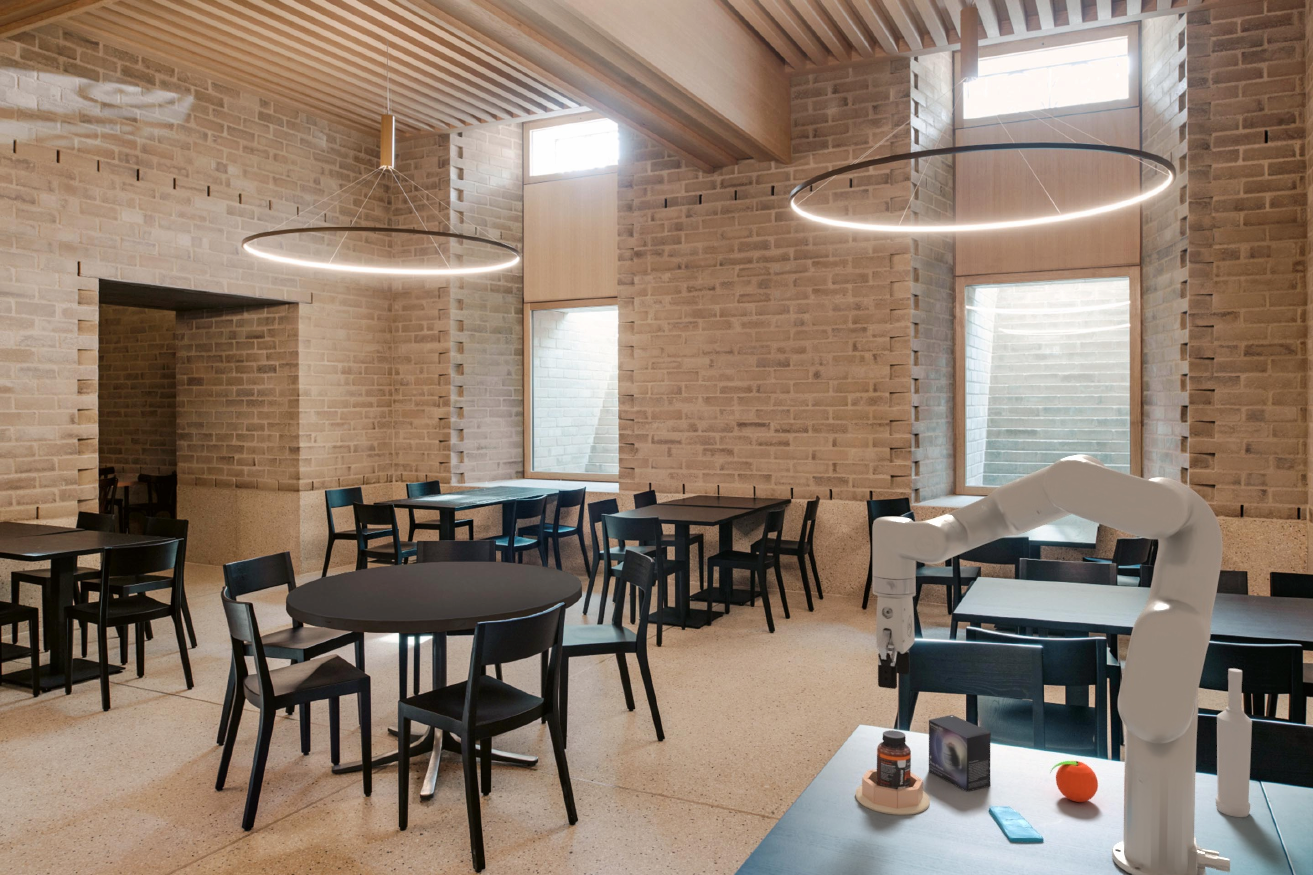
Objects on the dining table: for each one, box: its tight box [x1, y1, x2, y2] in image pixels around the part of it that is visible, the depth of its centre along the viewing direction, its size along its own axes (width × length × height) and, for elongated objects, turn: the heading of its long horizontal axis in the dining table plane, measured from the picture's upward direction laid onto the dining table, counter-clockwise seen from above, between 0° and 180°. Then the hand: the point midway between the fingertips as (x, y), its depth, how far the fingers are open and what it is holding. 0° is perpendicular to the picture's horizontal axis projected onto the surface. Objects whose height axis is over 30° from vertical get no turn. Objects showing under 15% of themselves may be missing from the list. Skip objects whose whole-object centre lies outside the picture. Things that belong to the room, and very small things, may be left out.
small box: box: [928, 714, 992, 792], centre depth 172 cm, size 11×6×10 cm, turn 25°
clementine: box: [1049, 760, 1099, 803], centre depth 163 cm, size 8×7×7 cm
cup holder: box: [855, 768, 931, 816], centre depth 163 cm, size 13×13×4 cm
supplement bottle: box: [876, 730, 912, 789], centre depth 163 cm, size 6×6×11 cm
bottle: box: [1215, 668, 1253, 818], centre depth 158 cm, size 5×5×25 cm
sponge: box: [988, 805, 1044, 843], centre depth 153 cm, size 2×12×6 cm
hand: (894, 680), depth 162 cm, fingers open, 9 cm apart
